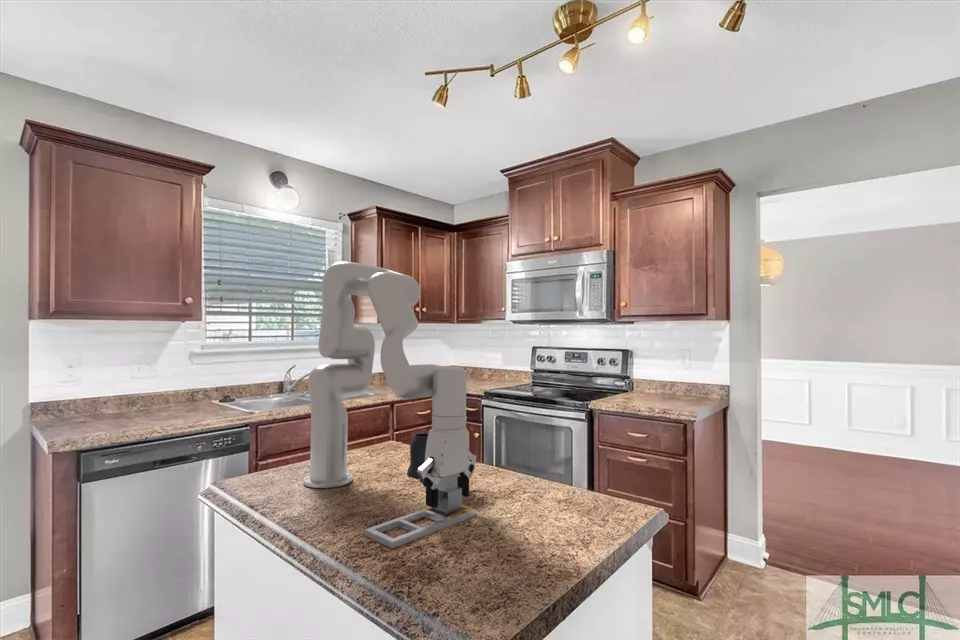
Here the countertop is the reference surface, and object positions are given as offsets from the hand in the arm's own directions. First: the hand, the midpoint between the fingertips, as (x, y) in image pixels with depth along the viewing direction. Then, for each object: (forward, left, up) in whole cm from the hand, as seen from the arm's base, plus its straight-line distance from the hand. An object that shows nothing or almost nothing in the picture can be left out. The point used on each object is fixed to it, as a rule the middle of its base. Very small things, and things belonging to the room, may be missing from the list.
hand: (447, 500), depth 105 cm
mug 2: (-28, +19, -4) cm, 34 cm away
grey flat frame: (0, -7, -3) cm, 8 cm away
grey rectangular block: (0, 0, -3) cm, 3 cm away
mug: (-11, +13, -3) cm, 18 cm away
